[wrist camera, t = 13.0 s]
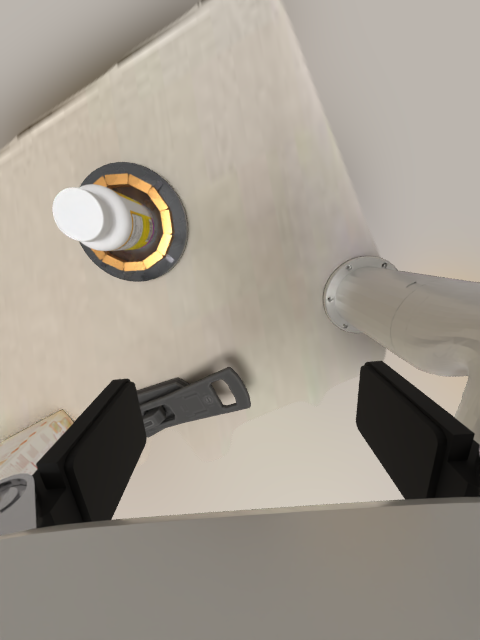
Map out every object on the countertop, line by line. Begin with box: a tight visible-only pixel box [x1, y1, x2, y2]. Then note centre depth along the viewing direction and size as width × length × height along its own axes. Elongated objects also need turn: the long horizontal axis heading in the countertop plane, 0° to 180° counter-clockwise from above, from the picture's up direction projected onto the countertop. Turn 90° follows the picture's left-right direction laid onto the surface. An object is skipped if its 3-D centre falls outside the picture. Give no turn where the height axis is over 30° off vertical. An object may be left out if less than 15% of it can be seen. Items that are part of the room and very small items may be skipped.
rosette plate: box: [79, 162, 188, 281], centre depth 34 cm, size 16×16×3 cm
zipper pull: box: [137, 367, 251, 437], centre depth 42 cm, size 9×7×25 cm
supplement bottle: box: [52, 184, 155, 251], centre depth 28 cm, size 7×7×13 cm
